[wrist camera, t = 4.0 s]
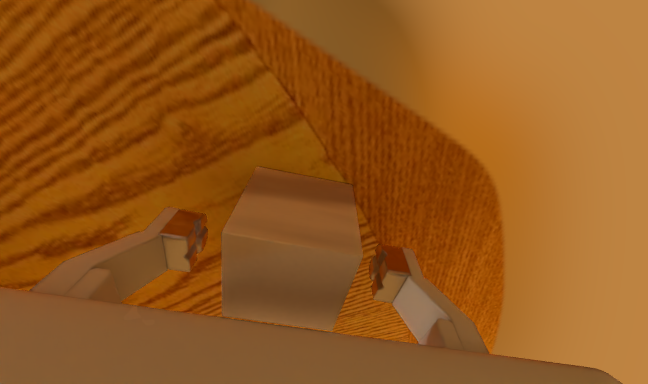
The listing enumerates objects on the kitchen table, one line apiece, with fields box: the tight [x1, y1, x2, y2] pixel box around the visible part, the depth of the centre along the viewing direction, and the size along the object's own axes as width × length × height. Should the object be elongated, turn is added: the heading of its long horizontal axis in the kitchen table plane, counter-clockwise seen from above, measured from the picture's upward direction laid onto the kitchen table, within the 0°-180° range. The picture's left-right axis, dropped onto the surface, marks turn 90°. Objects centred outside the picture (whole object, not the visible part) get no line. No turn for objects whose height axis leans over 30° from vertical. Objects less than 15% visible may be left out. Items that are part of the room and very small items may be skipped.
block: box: [221, 166, 363, 331], centre depth 11 cm, size 4×4×4 cm
